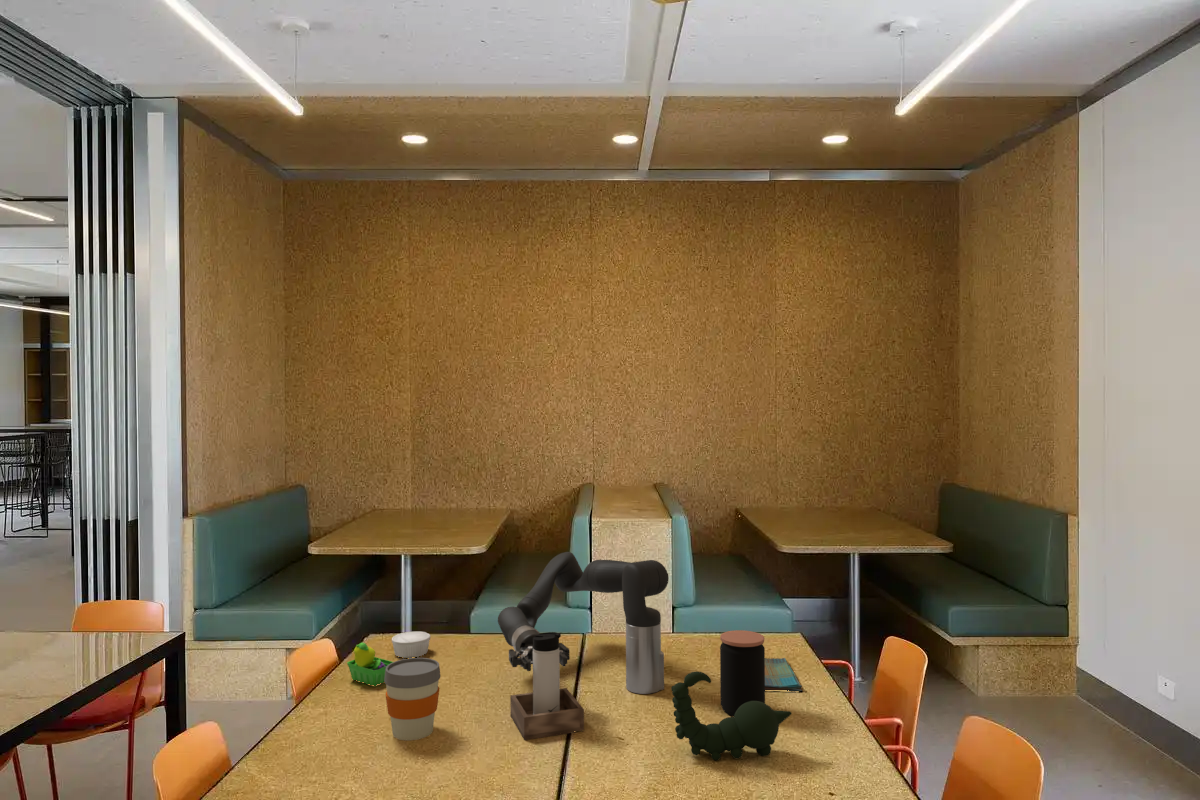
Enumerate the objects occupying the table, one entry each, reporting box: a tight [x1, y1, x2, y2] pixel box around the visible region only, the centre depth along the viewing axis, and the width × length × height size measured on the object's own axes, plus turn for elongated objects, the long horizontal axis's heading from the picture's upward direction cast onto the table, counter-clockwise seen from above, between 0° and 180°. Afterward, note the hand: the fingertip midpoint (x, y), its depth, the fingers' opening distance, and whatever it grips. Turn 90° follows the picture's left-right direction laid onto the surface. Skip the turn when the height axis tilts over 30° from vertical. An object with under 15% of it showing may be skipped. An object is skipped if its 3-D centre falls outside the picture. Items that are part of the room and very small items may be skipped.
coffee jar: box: [719, 629, 766, 717], centre depth 188 cm, size 11×11×18 cm
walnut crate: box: [509, 687, 585, 741], centre depth 181 cm, size 14×14×5 cm
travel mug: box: [532, 631, 562, 714], centre depth 181 cm, size 6×7×20 cm
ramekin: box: [391, 631, 431, 659], centre depth 232 cm, size 11×11×5 cm
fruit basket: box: [346, 642, 394, 687], centre depth 209 cm, size 11×9×11 cm
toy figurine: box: [670, 670, 792, 762], centre depth 164 cm, size 9×19×25 cm
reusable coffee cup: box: [384, 657, 442, 741], centre depth 177 cm, size 13×13×15 cm
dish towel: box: [765, 657, 803, 691], centre depth 211 cm, size 17×23×2 cm
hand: (547, 664), depth 181 cm, fingers open, 8 cm apart
